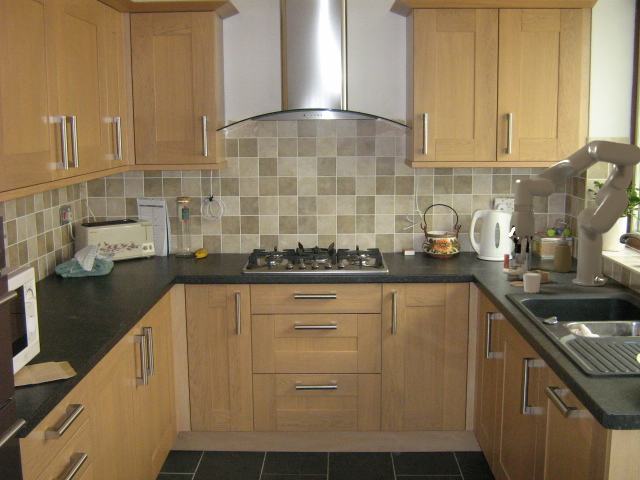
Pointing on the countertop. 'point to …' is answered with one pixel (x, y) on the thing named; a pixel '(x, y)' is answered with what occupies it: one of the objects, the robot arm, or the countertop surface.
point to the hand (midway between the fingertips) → (521, 252)
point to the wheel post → (513, 277)
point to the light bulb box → (527, 261)
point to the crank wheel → (511, 267)
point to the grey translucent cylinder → (521, 257)
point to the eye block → (542, 275)
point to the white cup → (531, 282)
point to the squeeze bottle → (562, 255)
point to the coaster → (517, 284)
